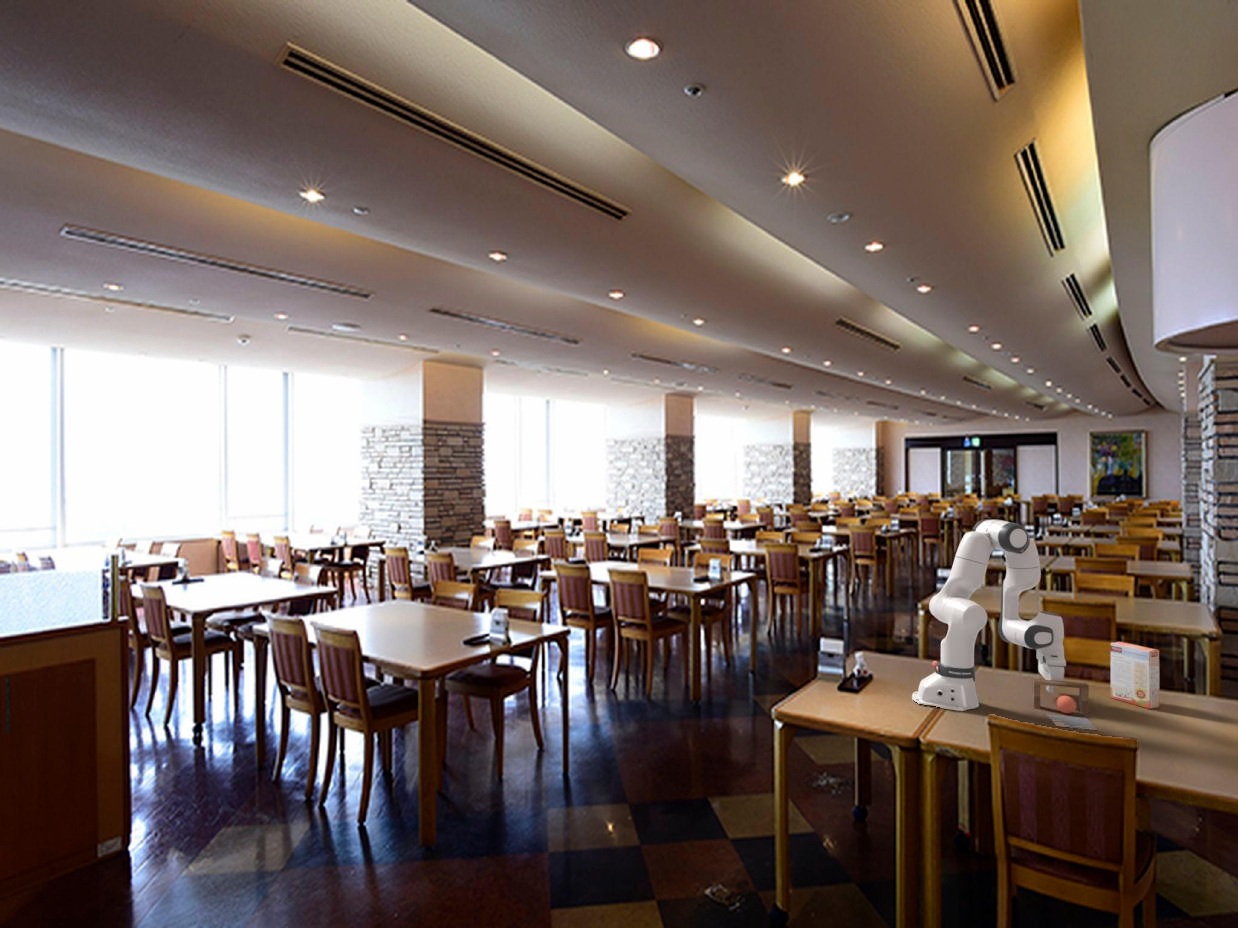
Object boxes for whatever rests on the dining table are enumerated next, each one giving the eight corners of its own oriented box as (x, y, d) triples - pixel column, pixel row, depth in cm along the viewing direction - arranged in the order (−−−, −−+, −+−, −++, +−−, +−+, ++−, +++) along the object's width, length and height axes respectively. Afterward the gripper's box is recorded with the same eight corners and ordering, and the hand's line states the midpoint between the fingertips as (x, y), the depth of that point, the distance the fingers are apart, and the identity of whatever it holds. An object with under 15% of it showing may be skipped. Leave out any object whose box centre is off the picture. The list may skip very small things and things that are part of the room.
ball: (1058, 713, 250) (1056, 695, 251) (1055, 711, 255) (1053, 693, 256) (1078, 715, 247) (1076, 696, 249) (1074, 712, 253) (1073, 695, 254)
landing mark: (1056, 726, 239) (1056, 726, 239) (1046, 714, 250) (1046, 714, 250) (1097, 730, 235) (1097, 730, 235) (1086, 718, 246) (1086, 717, 246)
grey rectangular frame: (1088, 712, 252) (1088, 685, 252) (1034, 707, 257) (1033, 680, 257) (1085, 709, 255) (1085, 682, 255) (1032, 705, 260) (1031, 678, 260)
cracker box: (1160, 707, 257) (1160, 649, 257) (1149, 709, 255) (1149, 651, 255) (1120, 695, 270) (1120, 640, 270) (1109, 697, 268) (1109, 642, 268)
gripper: (1033, 647, 279) (1033, 683, 279) (1047, 661, 259) (1047, 699, 259) (1052, 648, 277) (1052, 684, 277) (1067, 662, 258) (1067, 701, 258)
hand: (1050, 691), depth 268 cm, fingers closed
